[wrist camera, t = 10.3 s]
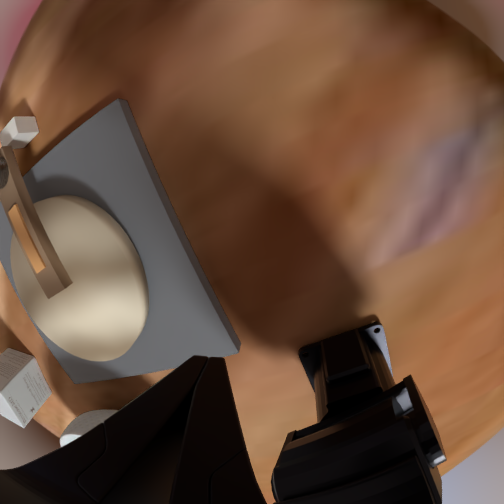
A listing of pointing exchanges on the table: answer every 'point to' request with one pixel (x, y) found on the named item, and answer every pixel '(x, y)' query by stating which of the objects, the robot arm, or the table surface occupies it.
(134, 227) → the base plate
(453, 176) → the table surface
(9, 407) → the product box
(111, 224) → the dial
